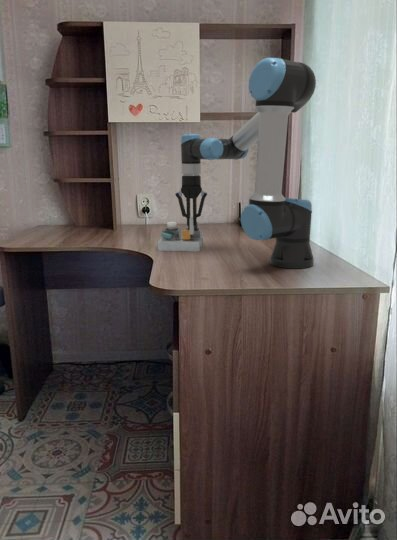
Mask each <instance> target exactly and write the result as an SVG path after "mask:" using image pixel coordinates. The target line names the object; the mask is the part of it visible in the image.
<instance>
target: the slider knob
mask: <svg viewBox="0 0 397 540" xmlns="http://www.w3.org/2000/svg"><path fill="white" fill-rule="evenodd" d="M181 235H182V239H190V238H191V234H190V230H185V229H182V230H181Z"/></svg>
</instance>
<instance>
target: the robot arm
mask: <svg viewBox="0 0 397 540" xmlns="http://www.w3.org/2000/svg"><path fill="white" fill-rule="evenodd" d="M316 84H317V79H316V75H315V72H314V70H313V69H312V68H311V67H310V66H309V65H307V64H306V63H304V62H300V61H299V62H298V61H293V60H290V59H289V60H288V59H286V58H285V59H284V58H280V57H266V58H265V57H264V58H263V59H261V60H260V61H258V62H257V63H256V65H255V67H253V69H252V71H251V74H250V76H249V78H248V90H249V91H248V92H249V94H250V96H251V97H252V98H253V99H254V100H255V105H254V107H255V109H256V110H257V111H258V112H256V114H254V115H253V116H252V117H251V118H250V119H249V120H248V121H247V122H246V123H244V125H242V127H240V128H239V129H238V130H237V131H236V132H235V133H234V134H233V135H231V136H230V137H229V138H216V137H208V138H201V135H200V134H198V133H183V134H182V135H181V141H180V149H181V150H180V152H181V154H180V156H181V158H180V160H181V174H182V176H181V188H180V190H179V191H177V192H176V193H175V196H176V198H177V200H178V205H179V209H180V213H181V216H182V217H185V218H186V226H187V227H188V226H190V234H194V226H196V225H197V226H198V220H197V219H198V218H199V217H201V215H202V213H203V208H204V204H205V200H206V197H207V195H208V192H206V191H204V190H203V188H202V183H201V179H202V177H201V175H200V174H201V173H202V171H201V168H202V167H201V166H202V165H201V160H208V161H214V160H234V161H235V160H243V159H244V158H246V157H247V155H248V153H249V148H250V147H252V146H253V145H254V144H255V143H256V142H257V149H256V150H257V151H256V152H257V154H256V168H255V181H254V192H253V193H252V194H251V195H250V196H249V199H248V200H249V201H248V205H246V206H245V207H244V208H243V209H242V211H241V212H240V213H241V214H240V224H241V227H242V230H243V232H244V233H245V235H246V236H247V237H249V238H250V239H251V240H254V241H269V240H270V239H271V240H272V239H275V244H274V245H273V248H272V251H271V254H270V257H269V264H270V265H272V266H274V267H278V268H282V269H306V268H307V269H308V268H311V267H312V266H314V263H315V260H314V259H315V258H314V254H313V251H312V247H311V243H310V242H311V241H310V240H311V226H312V225H311V224H312V213H313V210H312V209H313V208H312V202H311V200H308V199H302V198H300V199H299V198H290V197H285V196H284V195H283V193H282V191H283V180H284V179H283V178H284V170H285V169H284V168H285V167H284V166H285V159H286V158H285V157H286V147H287V146H286V145H287V137H288V136H287V135H288V134H287V133H288V122H289V115H290V114H291V113H292V114H295V113H297V112H298V111H300V110H301V109H302V108H303V107H304V106H305V105H306V104H308V102H309V101H310V100H311V99H312V97H313V95H314V93H315V90H316ZM182 196H184V198H185V201H186V203H184V201H183V198H182ZM199 196H200V197H201V199H200V203H199V208H198V209H197V200H198V199H197V198H198V197H199ZM191 199H192V217H191ZM184 204H186V207H185V205H184Z"/></svg>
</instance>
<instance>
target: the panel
mask: <svg viewBox="0 0 397 540" xmlns="http://www.w3.org/2000/svg"><path fill="white" fill-rule="evenodd" d="M184 230H188V227H186V228H184ZM162 233H166V234H171V235H172V237H171V239H170V238H166V237H160V239H159V238H158V240H157V251H159V252H160V251H161V252H164V251H165V252H200V250H201V249H202V247H203V245H204V235H203V228H201V227H199V228H198V227H197V230H194V234H191V238H190V239H182V227H177V229H176V230H168V229H167V227H165V228H164V229H162ZM162 233H161V234H162Z"/></svg>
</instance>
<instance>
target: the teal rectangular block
mask: <svg viewBox="0 0 397 540" xmlns="http://www.w3.org/2000/svg"><path fill="white" fill-rule="evenodd" d="M160 236H161V237H160V238H162V237H166V238H170V239H171V237H172V235H171V234H166V233H161V235H160Z"/></svg>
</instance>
